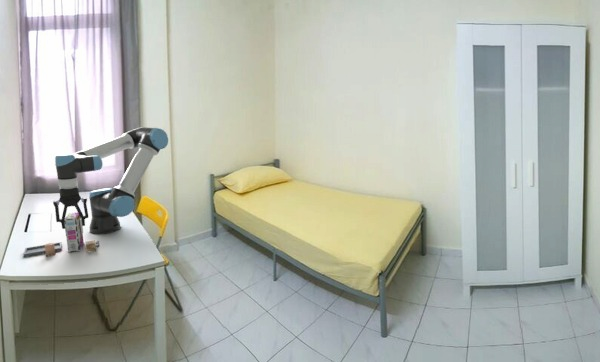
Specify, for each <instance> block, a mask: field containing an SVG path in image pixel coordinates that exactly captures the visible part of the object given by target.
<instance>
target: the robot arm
mask: <svg viewBox="0 0 600 362" xmlns="http://www.w3.org/2000/svg"><path fill="white" fill-rule="evenodd" d="M168 144H169V137H168V133H167V132H166V131H165V130H164V129H162V128H158V127H147V126H146V127H145V126H142V127H138V128H135V129H132V130H129V131H127V132H125V133H123V134H122V135H121V136H118V137H116V138H113V139H111V140H107V141H105V142H102V143H99V144H96V145H93V146H91V147H88V148H86V149H83V150H79V151H76V152H73V153H71V152H70V153H60V154H57V155H55V158H54V161H55V162H54V163H55V164H54V165H55V169H56V174H57V176H56V177H57V184H58V187H59V189H58V191H59V199H57V200H53V202H52V203H53V206H54V209H55V221H56V223H61V228H62V229H63V230H65V232H66V229H65V221H64V219H65V218H66V217H67V216H66V215H67V210H68V208H70V207H74V208H75V209H76V211H77V213H79V215H80V217H81V219H80V226H81V233H83V234H84V227H85V226H86V219H88V218H89V213H88V212H89V211H88V207H87V202H88V198H87V197H86V196H85V197H81V196H80V190H79V187H78V186H79V184H78V183H79V182H78V174H81V173H87V172H89V173H90V172H95V171H100V170H101V169H102V168H103V166H104V165H103V160H102V159H104V158H107V157H109V156H112V155H114V154H117V153H120V152H122V151H124V150H128V149H130V150H132V149H135V148H138V149H137V151H136V153H135V154H134V157H133V158H132V160H131V162H130V164H129V166H128V167H127V169H126V171H125V173H124V174H123V175H122V178H121V180H120V181H119V183H118V185H117V186H114V187H113V188H112V187H110V188H109V187H108V188H99V189H94V190H91V191H90V192H89V203H90V204H89V205H90V211H91V212H90V213H91V220H90V223H89V228H88V229H89V233H91V234H99V235H100V234H108V233H114V232H116V231H118V230H120V228H121V222H120V220H119V218H123V217H124V218H125V217H126V216H129V215H130V214H131V213H132V212H133V210H135V206H136V204H135V200H134V199H135V198H136V195H135V191H136V190H137V188H138V186H139V184H140V182H141V180H142V178H143V176H144V175H145V173H146V171H147V169H148V167H149V165H150V163H151V162H152V160H153V158H154V156H157V155H158V154H159V152H160V150H163V149H166V148H167V146H168ZM80 200H81V202H82V203H83V209H84V214H83V212H82V210H81V208H80V206H79V202H80ZM60 203H61V204H62V205H63V211H62V215H61V218H60V208H59V205H60Z"/></svg>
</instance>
